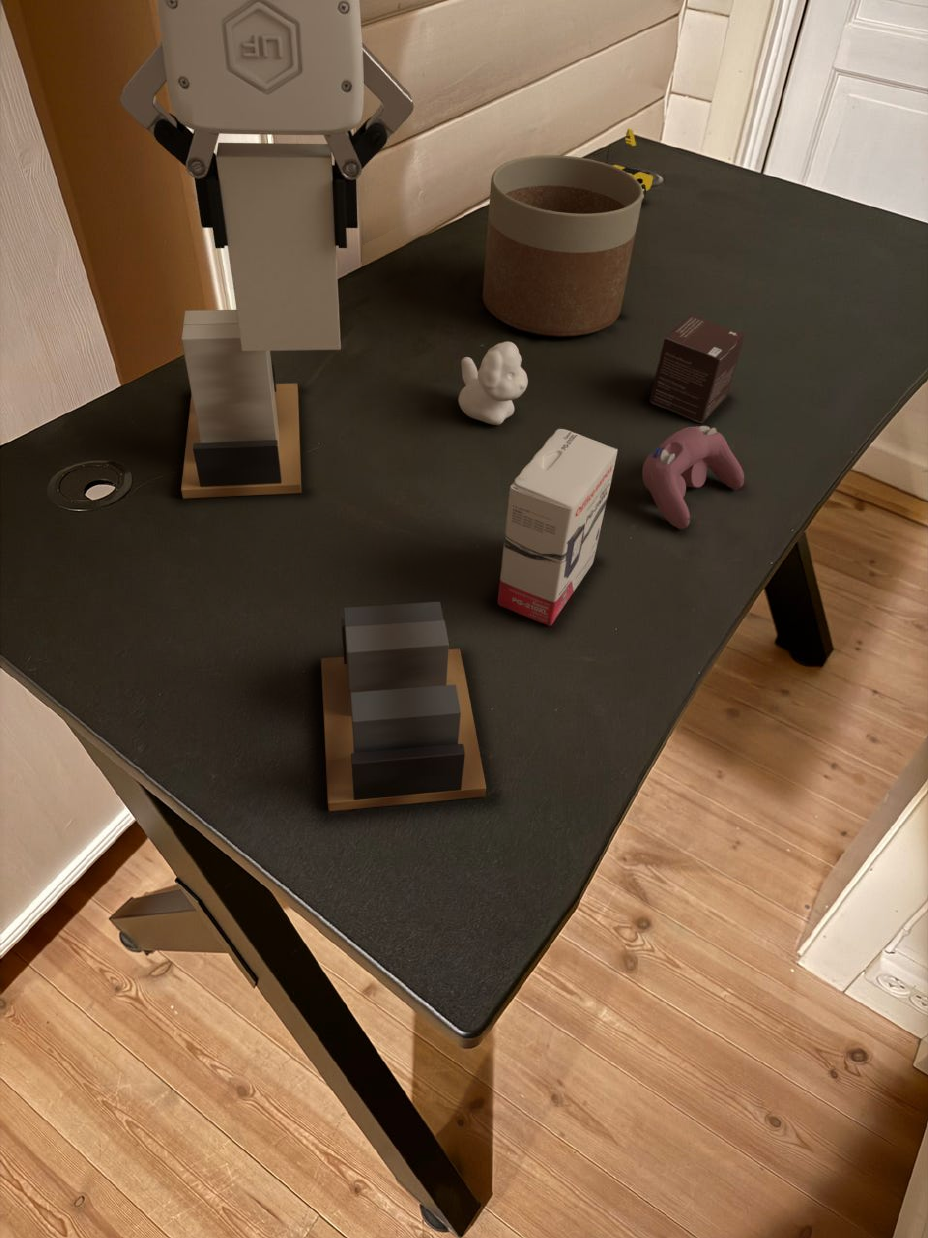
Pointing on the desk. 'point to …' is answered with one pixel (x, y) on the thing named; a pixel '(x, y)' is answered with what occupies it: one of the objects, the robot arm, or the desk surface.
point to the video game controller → (688, 469)
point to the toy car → (642, 178)
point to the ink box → (554, 524)
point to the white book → (281, 244)
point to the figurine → (493, 384)
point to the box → (696, 368)
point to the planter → (559, 243)
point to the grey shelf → (398, 712)
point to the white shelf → (236, 415)
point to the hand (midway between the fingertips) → (282, 236)
